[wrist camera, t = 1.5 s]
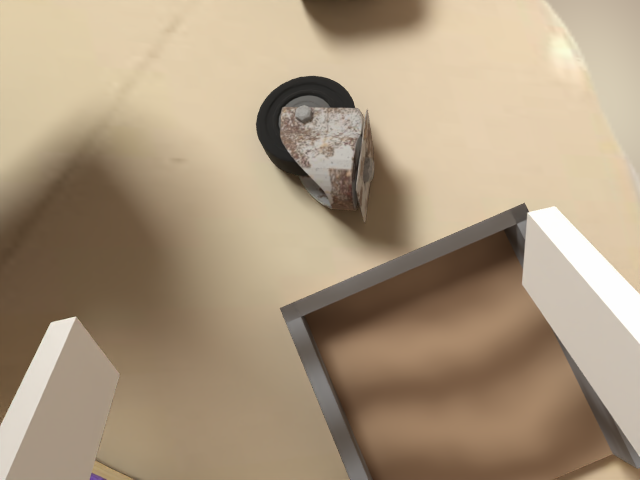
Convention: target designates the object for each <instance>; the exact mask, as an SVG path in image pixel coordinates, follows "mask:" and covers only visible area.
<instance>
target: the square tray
mask: <svg viewBox="0 0 640 480" xmlns="http://www.w3.org/2000/svg"><path fill="white" fill-rule="evenodd" d="M528 212H529V211H528V209H527V207H526V205H525V203H523V204H521V205H519V206H516V207H514V208H512V209H510V210H507V211H505V212H503V213H500V214H498V215H496V216H493V217H491V218H489V219H486V220H484V221H482V222H479V223H477V224H475V225H472V226H470V227H468V228H465V229H463V230H461V231H458V232H456V233H454V234H451V235H449V236H447V237H444V238H442V239H440V240H437V241H435V242H433V243H430V244H428V245H426V246H424V247H421V248H419V249H417V250H414V251H412V252H410V253H407V254H405V255H403V256H400V257H398V258H396V259H393V260H391V261H389V262H386V263H384V264H382V265H379V266H377V267H375V268H372V269H370V270H368V271H365V272H363V273H361V274H358V275H356V276H354V277H351V278H349V279H347V280H344V281H342V282H340V283H338V284H335V285H333V286H331V287H328V288H326V289H324V290H321V291H319V292H317V293H314V294H312V295H310V296H307V297H305V298H303V299H300V300H298V301H296V302H293V303H291V304H289V305H286V306H284V307H282V308H280V310H281V312H282V314H283V317H284V319H285V322H286V324H287V327H288V329H289V332H290V334H291V336H292V339H293V341H294V344H295V346H296V349H297V351H298V354H299V356H300V358H301V361H302V363H303V366H304V368H305V371H306V373H307V376H308V378H309V380H310V383H311V385H312V388H313V390H314V393H315V395H316V397H317V400H318V402H319V405H320V407H321V410H322V412H323V415H324V417H325V419H326V422H327V424H328V427H329V429H330V432H331V434H332V437H333V439H334V441H335V444H336V446H337V449H338V451H339V454H340V456H341V459H342V461H343V463H344V466H345V468H346V471H347V473H348V476H349V478H350V480H554V479H556V478H559V477H561V476H563V475H566V474H568V473H570V472H573V471H575V470H577V469H580V468H582V467H584V466H587V465H589V464H591V463H594V462H596V461H598V460H601V459H603V458H605V457H608V456H610V455H612V454H613V455H615V456H617V457H619V458H620V459H622V460H624V461H625V462H627V463H629V464H630V465H632V466H634V467H635V468H637V469H638V468H640V457H639V455H638V454H637V452H636V451H635V449H634V448H633V446H632V445H631V443H630V442H629V440H628V439H627V437H626V436H625V435H624V433H623V432H622V430H621V429H620V427H619V426H618V424H617V423H616V421H615V420H614V418H613V417H612V415H611V414H610V413H609V411H608V410H607V408H606V407H605V405H604V404H603V402H602V401H601V399H600V398H599V396H598V395H597V393H596V392H595V391H594V389H593V388H592V386H591V385H590V383H589V382H588V380H587V379H586V377H585V376H584V374H583V373H582V371H581V370H580V369H579V367H578V366H577V364H576V363H575V361H574V360H573V358H572V357H571V355H570V354H569V352H568V351H567V349H566V348H565V347H564V345H563V344H562V342H561V341H560V339H559V338H558V336H557V335H556V333H555V332H554V330H553V329H552V327H551V326H550V325H549V323H548V322H547V320H546V319H545V317H544V316H543V314H542V313H541V311H540V310H539V308H538V307H537V305H536V304H535V303H534V301H533V300H532V298H531V297H530V295H529V294H528V292H527V291H526V289H525V288H524V286H523V285H522V277H523V264H524V251H525V238H526V225H527V213H528Z"/></svg>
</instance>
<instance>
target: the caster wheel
mask: <svg viewBox="0 0 640 480" xmlns="http://www.w3.org/2000/svg"><path fill="white" fill-rule="evenodd" d="M256 128H257V135H258V138H259V140H260V142H261V144H262V146H263V148H264V150H265V152H266V153H267V155H268V157H269V158H270V159H271V161H272V162H273V163H274V164H275V165H276V166H277V167H278V168H280V169H281V170H283V171H285V172H287V173H290V174H293V175H298V176H299V178H300V180H301V182H302V184H303V185H304V187H305V188H306V190H307V191H308V192H309V193H310V195H311V196H312V197H313V198H315V199H316V200H317V201H318V202H320V203H321V204H323V205H324V206H326V207H328V208H330V209H338V210H354V211H355V210H357V209H358V207H359V204H360V209H361V213H362V217H363V221H364V223H365V221H366V214H367V206H368V197H369V189H370V182H371V180H372V179H373V176H374V161H373V156H374V151H373V144H372V137H371V130H370V123H369V116H368V110H367V111H366V115H365V122H364V117H363V115H362V113H361V112H360V110H359V109H358V108H355V106H354V102H353V99H352V97H351V96H350V94H349V93H348V91H347V90H346V89H345V88H344V87H343V86H341V85H340V84H339V83H337V82H335V81H333V80H331V79H328V78H324V77H319V76H306V77H299V78H296V79H292V80H290V81H288V82H285V83H284V84H282V85H280V86H279V87H277V88H276V89H275V90H273V91H272V92H271V93H270V94H269V95H268V97H267V98H266V99H265V101H264V102H263V104H262V105H261V107H260V110H259V113H258V115H257V122H256Z"/></svg>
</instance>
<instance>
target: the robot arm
mask: <svg viewBox="0 0 640 480" xmlns="http://www.w3.org/2000/svg"><path fill="white" fill-rule="evenodd" d="M522 285H523V286H524V288H525V289H526V291H527V292H528V294H529V295H530V297H531V298H532V300H533V301H534V303H535V304H536V305H537V307H538V308H539V310H540V311H541V313H542V314H543V316H544V317H545V319H546V320H547V322H548V323H549V325H550V326H551V327H552V329H553V330H554V332H555V333H556V335H557V336H558V338H559V339H560V341H561V342H562V344H563V345H564V347H565V348H566V349H567V351H568V352H569V354H570V355H571V357H572V358H573V360H574V361H575V363H576V364H577V366H578V367H579V369H580V370H581V371H582V373H583V374H584V376H585V377H586V379H587V380H588V382H589V383H590V385H591V386H592V388H593V389H594V391H595V392H596V393H597V395H598V396H599V398H600V399H601V401H602V402H603V404H604V405H605V407H606V408H607V410H608V411H609V413H610V414H611V415H612V417H613V418H614V420H615V421H616V423H617V424H618V426H619V427H620V429H621V430H622V432H623V433H624V435H625V436H626V437H627V439H628V440H629V442H630V443H631V445H632V446H633V448H634V449H635V451H636V452H637V454H638V455H639V457H640V294H639V293H638V292H637V291H636V290H635V289H634V288H633V287H632V286H631V285H630V284H629V283H628V282H627V281H626V280H625V279H624V278H623V277H622V276H621V275H620V274H619V273H618V272H617V271H616V269H615V268H614V267H613V266H612V265H611V264H610V263H609V262H608V261H607V260H606V259H605V258H604V257H603V256H602V255H601V254H600V253H599V252H598V251H597V250H596V249H595V248H594V247H593V246H592V244H591V243H590V242H589V241H588V240H587V239H586V238H585V237H584V236H583V235H582V234H581V233H580V232H579V231H578V230H577V229H576V228H575V227H574V226H573V225H572V224H571V223H570V222H569V221H568V219H567V218H566V217H565V216H564V215H563V214H562V213H561V212H560V211H559V210H558V209H557V208H556V207H555V206H554V207H550V208H545V209H541V210H537V211H532V212H528V213H527V225H526V238H525V251H524V264H523V277H522ZM119 376H120V374H119V372H118V371H117V370H116V368H115V367H114V366H113V364H112V363H111V362H110V360H109V359H108V358H107V356H106V355H105V354H104V352H103V351H102V350H101V348H100V347H99V346H98V344H97V343H96V342H95V341H94V339H93V338H92V337H91V335H90V334H89V333H88V331H87V330H86V329H85V327H84V326H83V325H82V323H81V322H80V321H79V319H78V318H77V317H72V318H67V319H63V320H59V321H54V322H51V323H50V325H49V327H48V329H47V331H46V333H45V335H44V337H43V340H42V342H41V344H40V346H39V348H38V350H37V352H36V354H35V356H34V358H33V360H32V362H31V364H30V366H29V368H28V370H27V372H26V374H25V376H24V378H23V380H22V382H21V385H20V387H19V389H18V391H17V393H16V395H15V397H14V399H13V401H12V403H11V405H10V407H9V409H8V411H7V413H6V415H5V417H4V419H3V421H2V423H1V425H0V480H90V476H91V473H92V470H93V466H94V463H95V459H96V456H97V452H98V449H99V445H100V442H101V439H102V435H103V432H104V428H105V425H106V421H107V418H108V414H109V411H110V408H111V404H112V401H113V397H114V394H115V390H116V387H117V383H118V380H119Z"/></svg>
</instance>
